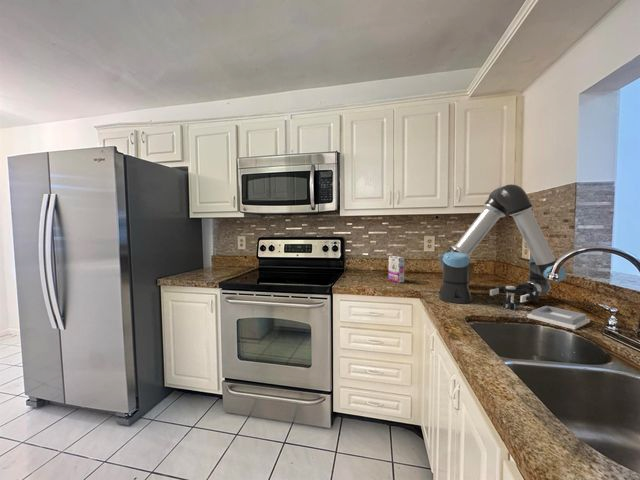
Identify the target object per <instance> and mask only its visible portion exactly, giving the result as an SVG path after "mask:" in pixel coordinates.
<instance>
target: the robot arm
mask: <svg viewBox="0 0 640 480" xmlns="http://www.w3.org/2000/svg"><path fill="white" fill-rule="evenodd" d="M530 200H531V199H530V198H529V196H528V195H527V193H526V192H525V190H524V189H523V188H522V186H519V185H518V184H507V185H506V184H505V185H503V186H499V187H497V188H495V189H493V191H491V193H489V196H488V198H487V200H486V201H485V203H484V204H483V210H482V211H481V213H480V214H479V215H478V216H477V217H476V218H475V219H474V221H473V222H472V223H471V225H470V226H469V227H468V228H467V230H466V231H465V233H464V234H463V235H462V236H461V238H459V240H458V241H457V242H456V244H454V245H450V246H449V248H448V249H447V250H446V252H444V253H443V254H441V256H440V258H439V263H438V264H439V267H440V268H441V271H442V282H441V286H440V288H439V292H438V296H437V298H438V299H439V300H441V301H444V302H448V303H453V304H468V303H471V302H472V295H471V291H470V288H469V284H468V270H469V260H471V254H472V252H474V250H475V249H476V247H478V245H479V244H480V243H481V241H482V240H483V239H484V237H486V235H487V234H488V233H489V232H490V231H491V229H492V228H493V227H494V226H495V224H496V223H497V222H498V220H500V218H504V217H506V216H507V215H508V216H510V217H512V219H513V220H514V222H515V224H516V226H517V228H518V231H519V233H520V234H521V236H522V238H523V240H524V242H525V245H526V246H527V248H528V251H529V252H530V255H531V256H530V258H529V263H528V266H529V267H528V268H529V270H528V281H525V282H521V283H519V284H517V285H516V286H515V287H516V289H518V291H517V293H515V294H514V296H515V295H516V296H520V300H519V303H526V302H529V301H535V302H539V301H540V297H541V296H543V295H545V294H547V293H549V292H550V291H551V287H552V286H551V284H550V282H551V283H559V282H562V281H563V280H564V279H565V278H566V276H567V272H566V270H565V269H564V268H563V267H562V266H560V267H561V268H560V270H559V279H558V280H557V281H551V280H548V279H547V277H548V274H549V273H550V271H551V269H552V267H553V265H554V263H555V262H556V261H557V260H556V257H555V256H554V254H553V252H552V249H551V247H550V245H549V244H548V241H547V239H546V237H545V235H544V233H543V231H542V229H541V227H540V225H539V222H538V221H537V219H536V216H535V215H534V213H533V210H532V209H533V205H532V202H531V201H530ZM506 286H507V285H503V286H501V285H499V286H492V289H489V296H497V295H499V294H507V293H506V292H505V291H504V287H506Z"/></svg>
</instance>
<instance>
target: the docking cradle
mask: <svg viewBox="0 0 640 480" xmlns="http://www.w3.org/2000/svg"><path fill="white" fill-rule="evenodd" d="M526 317H527V318H528V319H531V320H536V321H539V322H544V323H548V324H551V325H555V326H559V327H563V328H567V329H571V330H577V329H579V328H581V327H583V326H585V325H587V324H589V323H590V322H591V319H590V318H587V314H586V313H583V312H582V313H581V312H577V311H574V310H573V311H572V310H568V309H562V308H558V307H554V306H550V305H544V306H541V307H539V308H535V309H532V310H531V312H530V313H527V316H526Z"/></svg>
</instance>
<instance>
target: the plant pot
mask: <svg viewBox="0 0 640 480" xmlns="http://www.w3.org/2000/svg"><path fill="white" fill-rule="evenodd" d="M475 265H476V261H475V260H471V259H470V260H469V270H468V285H469V284H470V282H471V280H472V276H473V274H474V269H475Z"/></svg>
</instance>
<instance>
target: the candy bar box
mask: <svg viewBox="0 0 640 480" xmlns="http://www.w3.org/2000/svg"><path fill="white" fill-rule="evenodd" d="M405 260H406V257H403V256H397V255H390V256H388V268H387V269H388V273H387V275H388V276H387V277H388V281H391V282H394V283H398V284H403V283H405V268H406V267H405V264H406V261H405Z"/></svg>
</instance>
